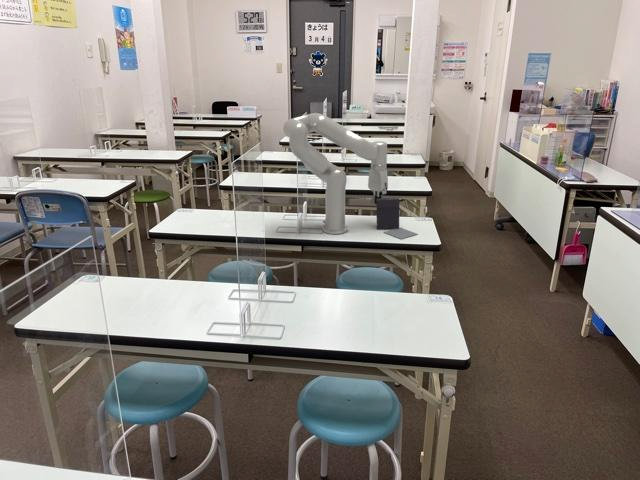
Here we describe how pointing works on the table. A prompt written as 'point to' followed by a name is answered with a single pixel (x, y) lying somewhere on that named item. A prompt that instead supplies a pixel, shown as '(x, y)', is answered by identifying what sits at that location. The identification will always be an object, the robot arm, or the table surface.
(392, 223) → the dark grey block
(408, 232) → the mat
